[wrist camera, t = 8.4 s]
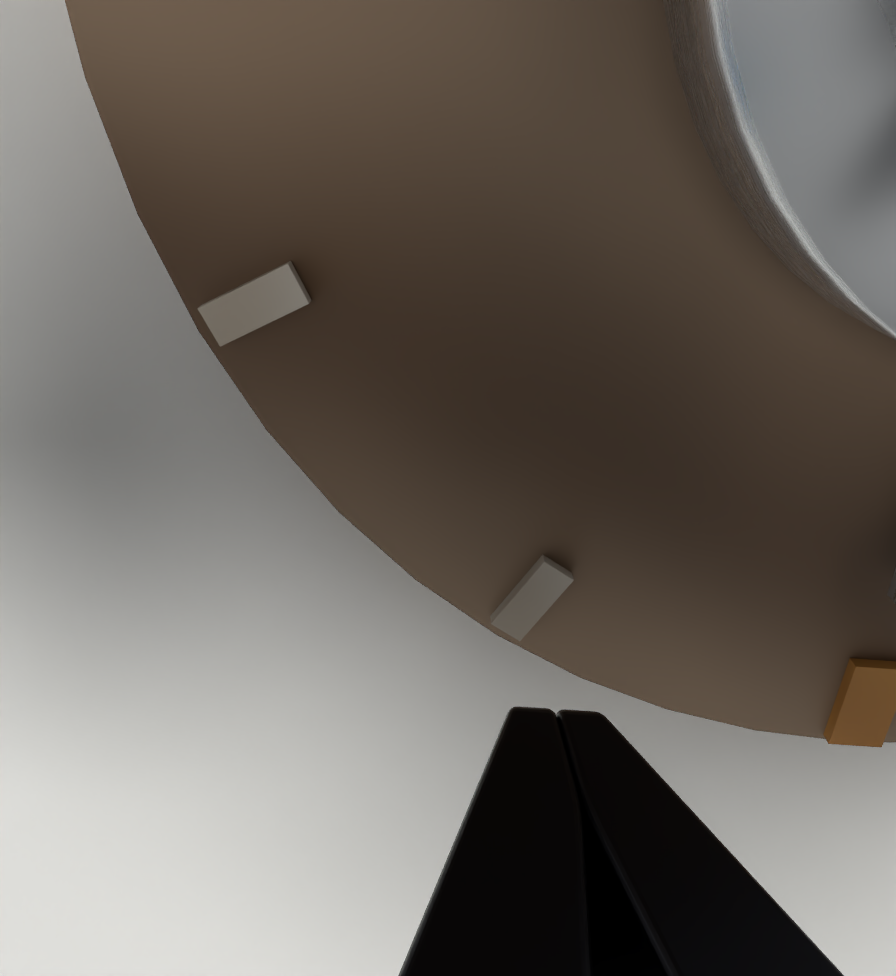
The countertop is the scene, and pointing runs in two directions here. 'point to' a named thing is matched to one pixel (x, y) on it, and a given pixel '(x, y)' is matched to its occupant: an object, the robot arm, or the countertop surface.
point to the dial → (803, 135)
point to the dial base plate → (526, 334)
